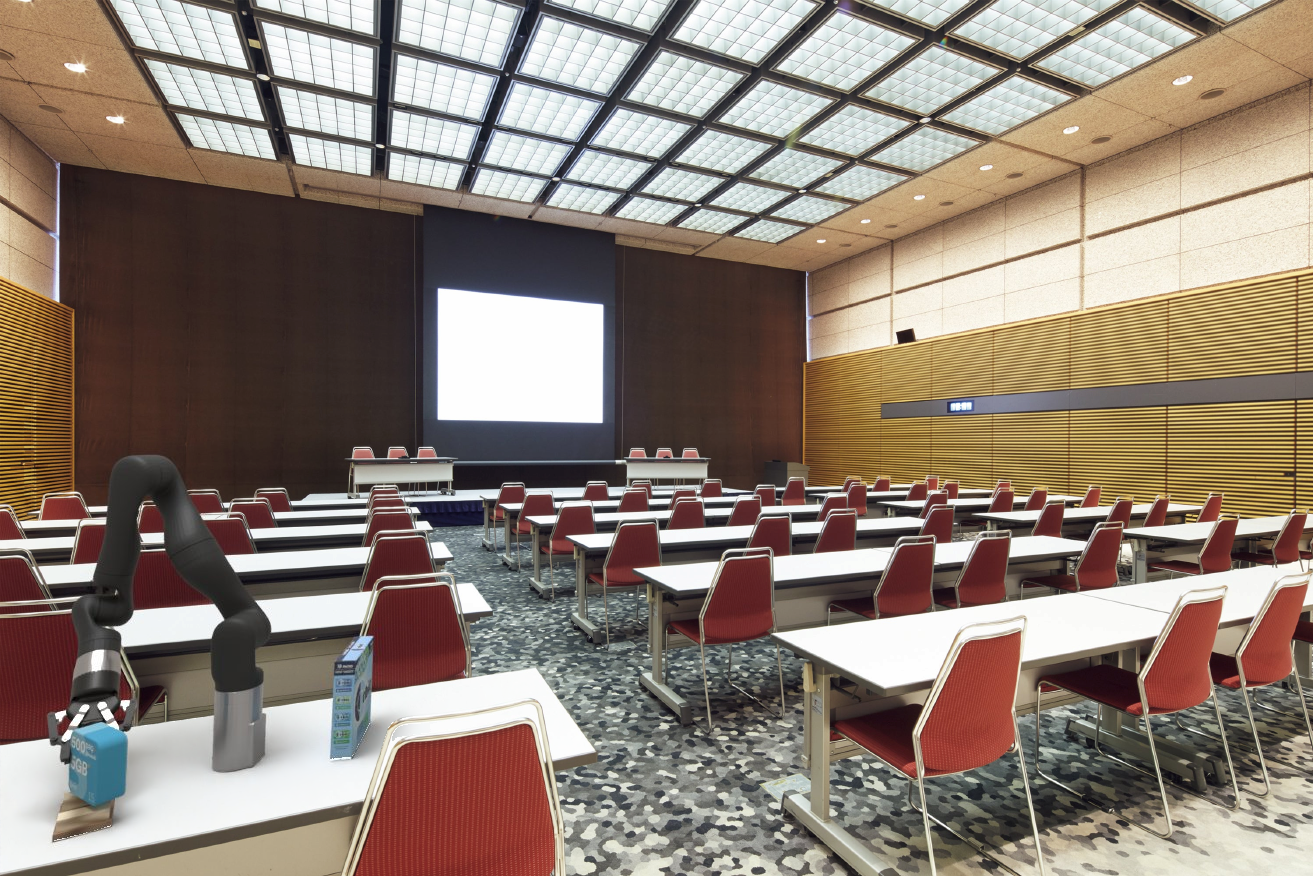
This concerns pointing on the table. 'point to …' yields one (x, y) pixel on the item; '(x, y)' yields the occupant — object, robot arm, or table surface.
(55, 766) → the table surface
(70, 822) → the display stand
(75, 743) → the data package
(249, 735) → the robot arm
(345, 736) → the blue product box
